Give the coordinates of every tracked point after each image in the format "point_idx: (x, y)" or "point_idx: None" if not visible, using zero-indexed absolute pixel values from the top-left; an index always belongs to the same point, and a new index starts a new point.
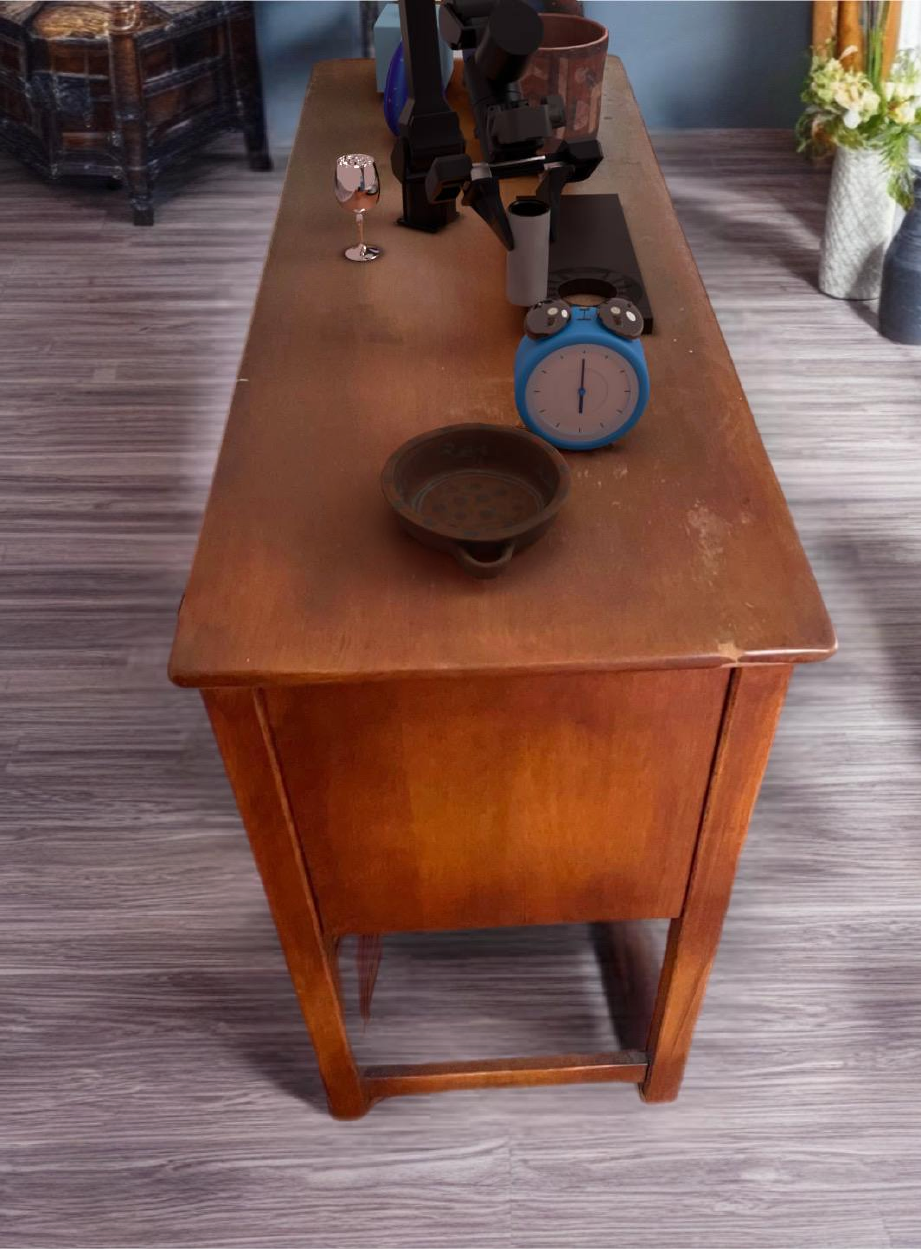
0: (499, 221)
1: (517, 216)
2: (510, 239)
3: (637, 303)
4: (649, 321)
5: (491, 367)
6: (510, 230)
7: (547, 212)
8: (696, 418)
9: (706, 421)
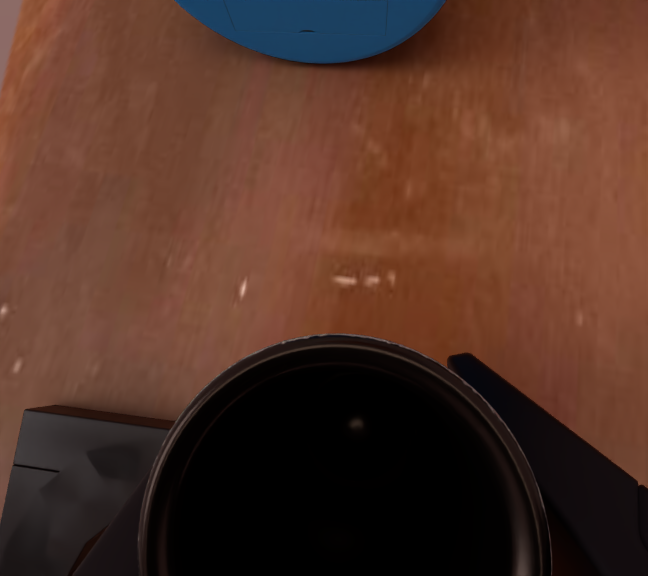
0: (603, 456)
1: (467, 388)
2: (478, 380)
3: (35, 499)
4: (39, 409)
5: (457, 306)
6: None
7: (186, 409)
8: (85, 64)
9: (72, 54)
